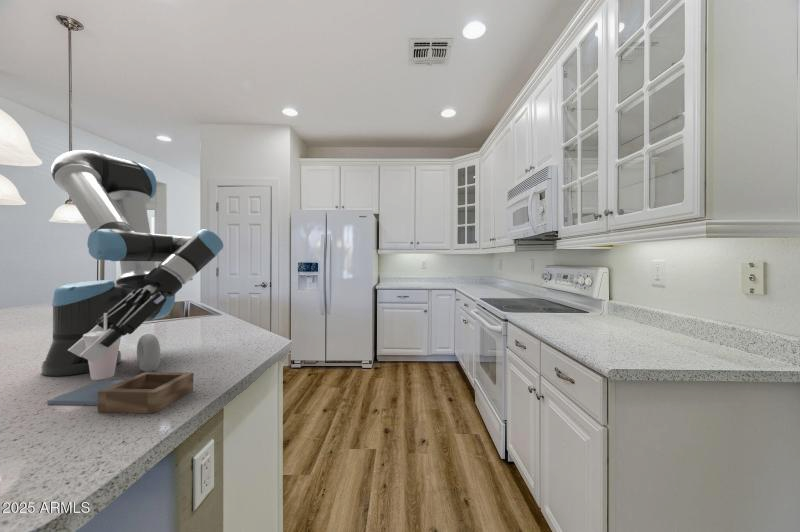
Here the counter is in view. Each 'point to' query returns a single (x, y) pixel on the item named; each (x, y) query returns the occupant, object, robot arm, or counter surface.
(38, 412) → the counter surface
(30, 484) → the counter surface
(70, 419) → the counter surface
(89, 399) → the coaster
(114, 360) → the smoothie
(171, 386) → the collar
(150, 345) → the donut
